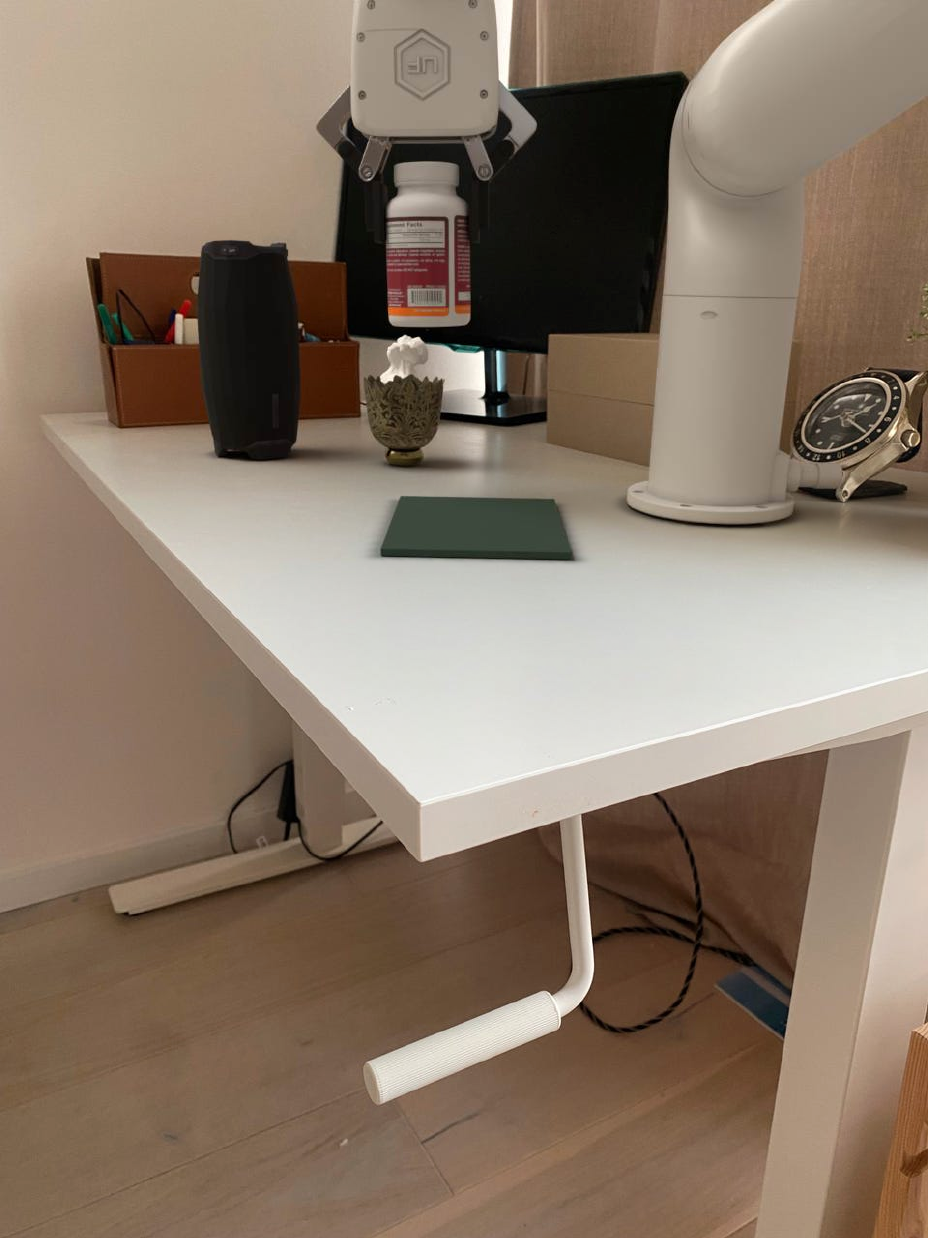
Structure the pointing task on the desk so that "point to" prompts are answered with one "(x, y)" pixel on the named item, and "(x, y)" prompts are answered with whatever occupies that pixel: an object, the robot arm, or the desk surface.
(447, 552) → the desk mat
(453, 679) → the desk surface
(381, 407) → the cup
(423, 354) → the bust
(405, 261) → the pill bottle
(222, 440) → the portable speaker
